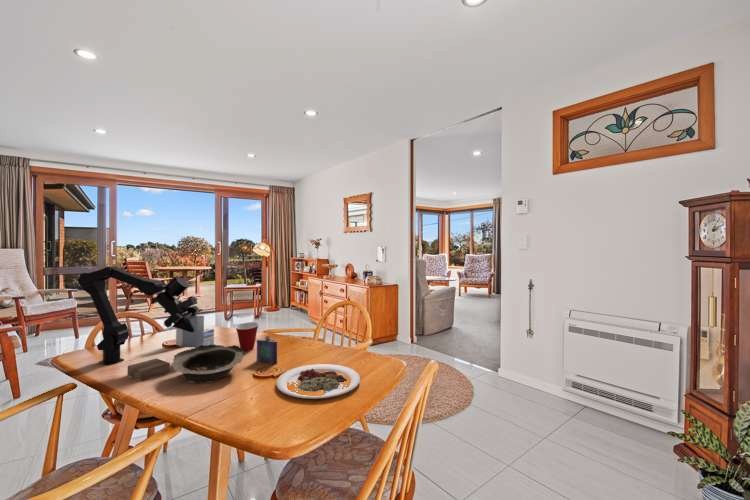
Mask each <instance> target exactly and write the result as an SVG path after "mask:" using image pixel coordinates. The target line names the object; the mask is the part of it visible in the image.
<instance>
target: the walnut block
mask: <svg viewBox="0 0 750 500" xmlns="http://www.w3.org/2000/svg"><path fill="white" fill-rule="evenodd" d="M170 372H171V362H168V361H164V360H162V359H160V358H153V359H152V358H151V359H148V360H145V361H142V362H138V363H134V364H129V365H127V377H130V378H132V379H135V380H137V381H139V382H143V381H147V380H149V379H153V378H156V377H159V376H162V375H166V374H169V373H170Z"/></svg>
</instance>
